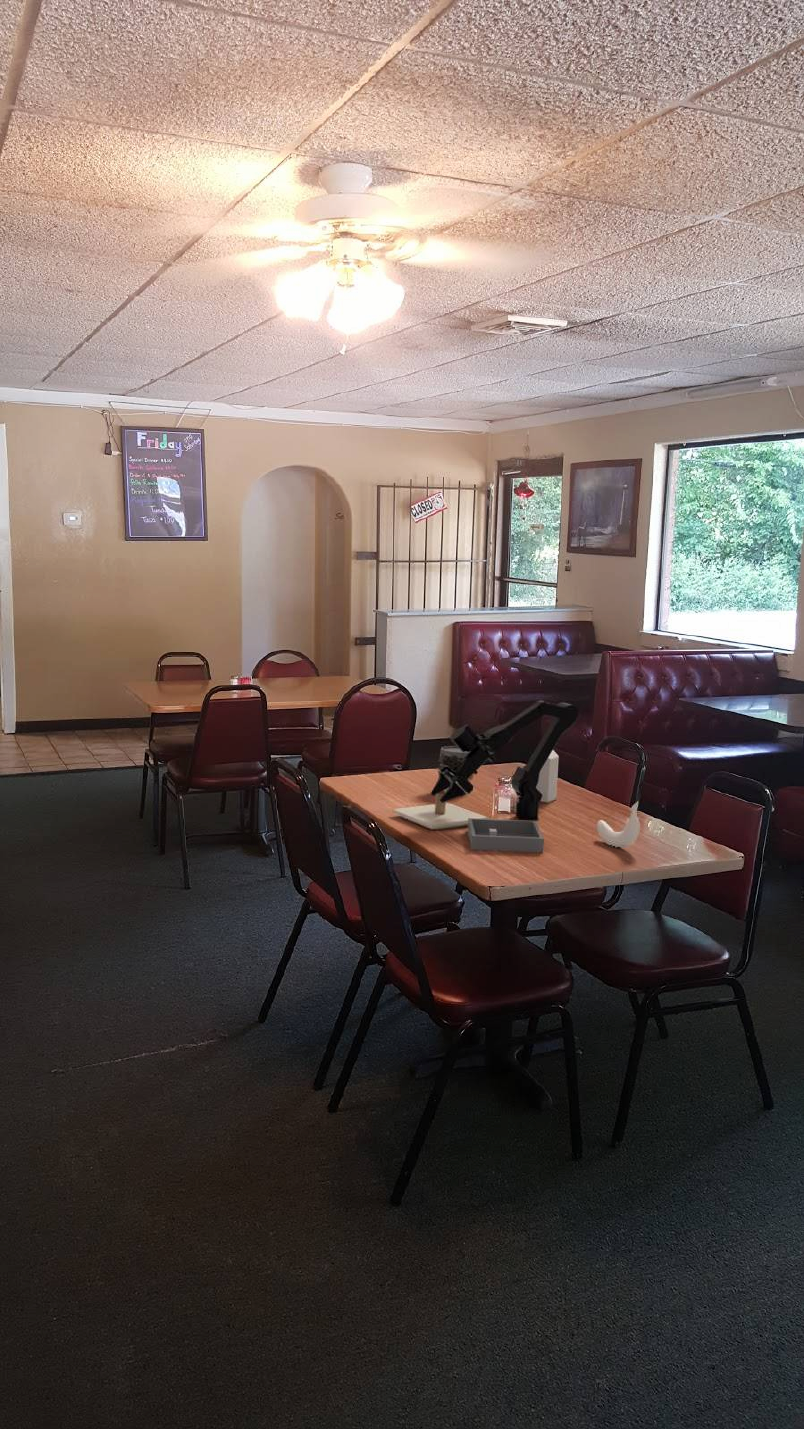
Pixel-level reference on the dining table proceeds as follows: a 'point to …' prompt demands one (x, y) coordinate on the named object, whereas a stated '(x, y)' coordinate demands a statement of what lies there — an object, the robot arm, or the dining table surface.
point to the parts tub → (505, 835)
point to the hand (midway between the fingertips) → (436, 798)
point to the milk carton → (549, 778)
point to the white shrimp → (624, 836)
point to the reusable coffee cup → (457, 752)
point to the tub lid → (438, 814)
